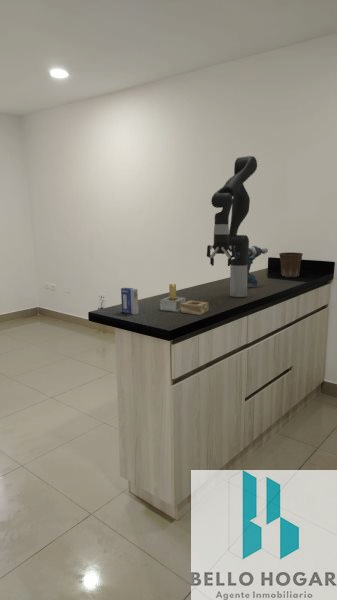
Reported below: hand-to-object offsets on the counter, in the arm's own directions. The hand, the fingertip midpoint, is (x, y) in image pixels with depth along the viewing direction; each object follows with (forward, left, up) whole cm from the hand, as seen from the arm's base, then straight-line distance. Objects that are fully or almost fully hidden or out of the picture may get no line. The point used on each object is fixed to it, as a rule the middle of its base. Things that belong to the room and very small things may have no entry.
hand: (220, 265), depth 211 cm
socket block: (+25, -14, -19) cm, 34 cm away
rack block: (+25, -2, -19) cm, 32 cm away
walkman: (+41, -28, -19) cm, 53 cm away
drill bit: (+25, -14, -19) cm, 34 cm away
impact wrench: (-48, -2, -19) cm, 51 cm away
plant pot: (-100, +8, -19) cm, 102 cm away
